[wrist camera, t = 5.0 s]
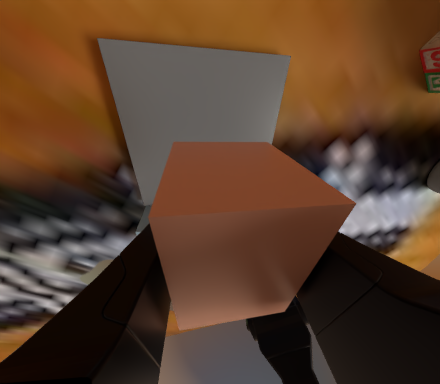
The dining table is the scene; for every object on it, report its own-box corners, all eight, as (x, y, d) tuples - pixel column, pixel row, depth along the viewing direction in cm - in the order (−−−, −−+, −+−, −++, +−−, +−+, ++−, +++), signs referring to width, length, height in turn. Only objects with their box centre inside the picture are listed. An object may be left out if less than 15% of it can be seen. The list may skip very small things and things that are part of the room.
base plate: (256, 194, 24) (259, 199, 23) (146, 200, 21) (144, 205, 20) (284, 58, 15) (290, 55, 14) (104, 42, 13) (96, 38, 12)
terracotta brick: (249, 227, 11) (284, 311, 7) (184, 233, 10) (179, 330, 6) (267, 142, 8) (356, 203, 4) (173, 141, 7) (148, 217, 3)
